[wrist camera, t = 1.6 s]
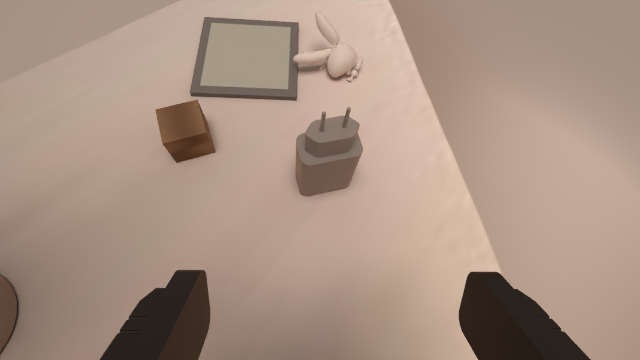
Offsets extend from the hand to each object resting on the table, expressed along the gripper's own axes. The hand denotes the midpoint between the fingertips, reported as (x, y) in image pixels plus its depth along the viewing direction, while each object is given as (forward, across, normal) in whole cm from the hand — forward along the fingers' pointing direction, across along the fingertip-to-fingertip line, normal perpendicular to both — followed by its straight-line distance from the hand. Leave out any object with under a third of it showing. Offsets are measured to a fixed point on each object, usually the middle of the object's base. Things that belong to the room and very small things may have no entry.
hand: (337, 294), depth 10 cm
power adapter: (+24, -1, +5) cm, 24 cm away
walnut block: (+26, +13, +2) cm, 29 cm away
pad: (+35, +8, -6) cm, 36 cm away
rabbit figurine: (+34, -1, -6) cm, 35 cm away
